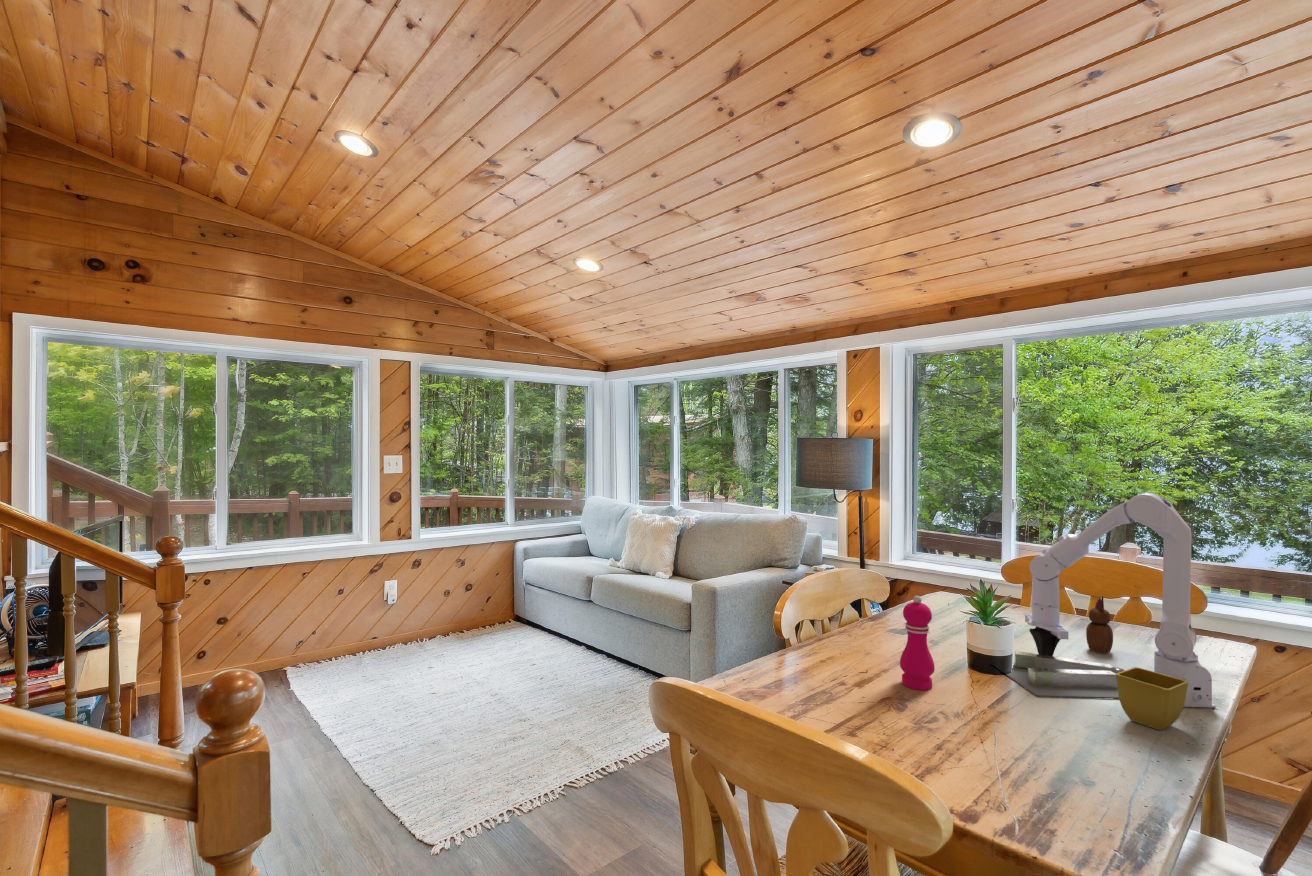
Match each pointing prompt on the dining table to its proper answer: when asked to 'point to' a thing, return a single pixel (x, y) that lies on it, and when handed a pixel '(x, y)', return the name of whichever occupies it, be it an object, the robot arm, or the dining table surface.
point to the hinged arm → (1058, 663)
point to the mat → (1060, 688)
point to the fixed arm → (1072, 678)
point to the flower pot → (1151, 697)
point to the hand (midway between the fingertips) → (1045, 660)
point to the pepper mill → (917, 647)
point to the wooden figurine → (1099, 629)
